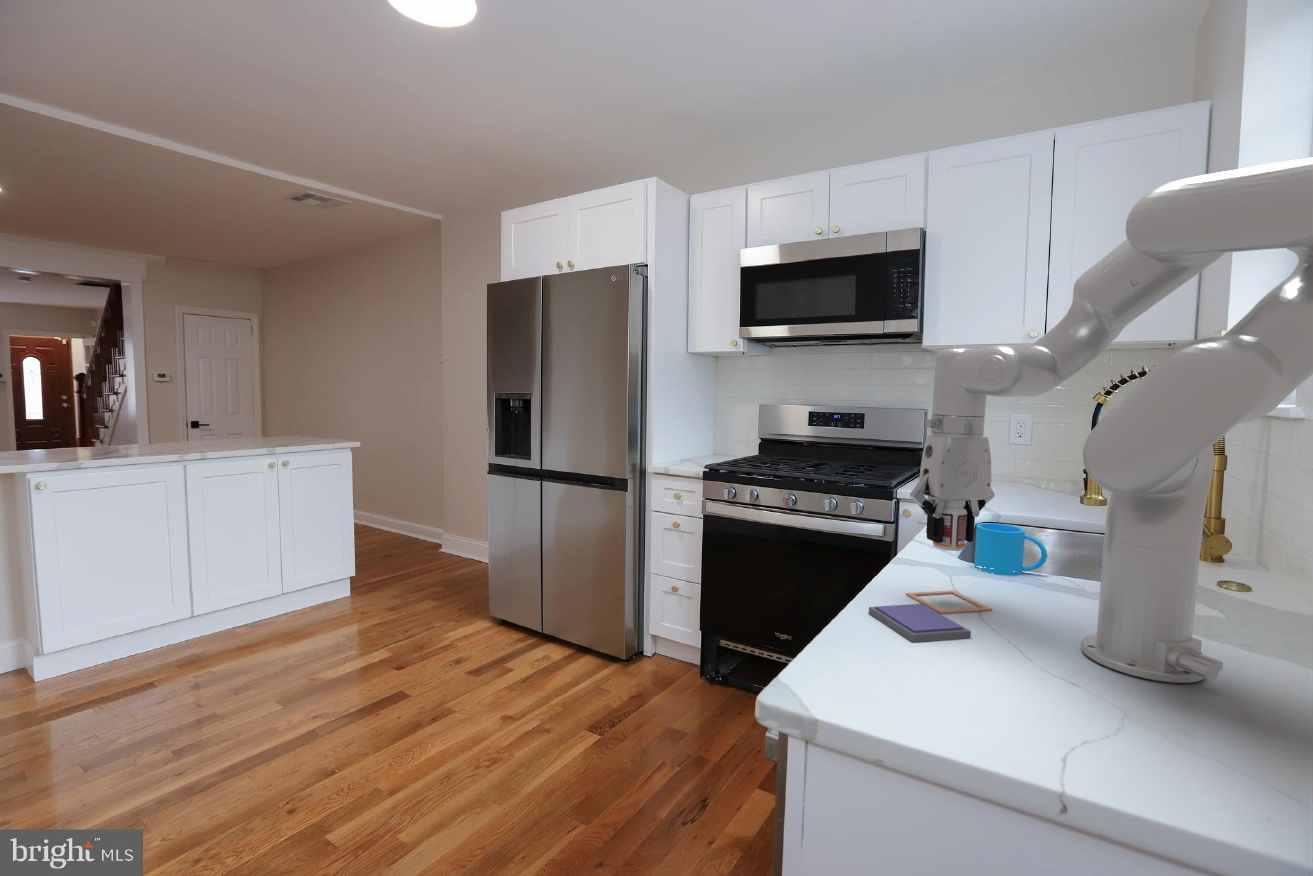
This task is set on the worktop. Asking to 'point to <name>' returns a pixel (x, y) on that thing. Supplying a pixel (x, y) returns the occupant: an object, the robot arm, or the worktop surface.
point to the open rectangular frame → (982, 608)
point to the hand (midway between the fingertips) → (949, 539)
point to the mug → (1003, 549)
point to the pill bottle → (953, 526)
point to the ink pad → (919, 623)
